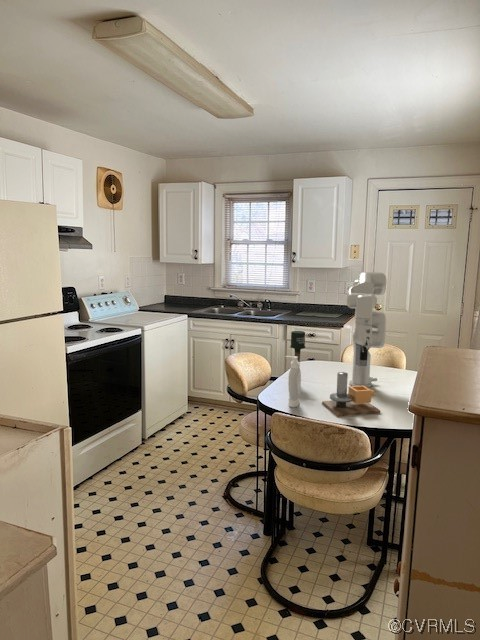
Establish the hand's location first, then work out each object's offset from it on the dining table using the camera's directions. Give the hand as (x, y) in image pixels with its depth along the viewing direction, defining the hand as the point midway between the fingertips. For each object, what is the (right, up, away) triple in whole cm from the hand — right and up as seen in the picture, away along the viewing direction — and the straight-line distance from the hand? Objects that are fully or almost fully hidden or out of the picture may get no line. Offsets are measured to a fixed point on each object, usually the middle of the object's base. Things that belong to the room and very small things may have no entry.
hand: (361, 358), depth 228 cm
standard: (-10, -23, +2) cm, 25 cm away
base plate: (-5, -25, +3) cm, 25 cm away
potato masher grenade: (-26, -18, +45) cm, 55 cm away
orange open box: (+1, -21, +4) cm, 21 cm away
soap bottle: (-33, -24, +9) cm, 41 cm away
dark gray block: (0, -3, 0) cm, 3 cm away
